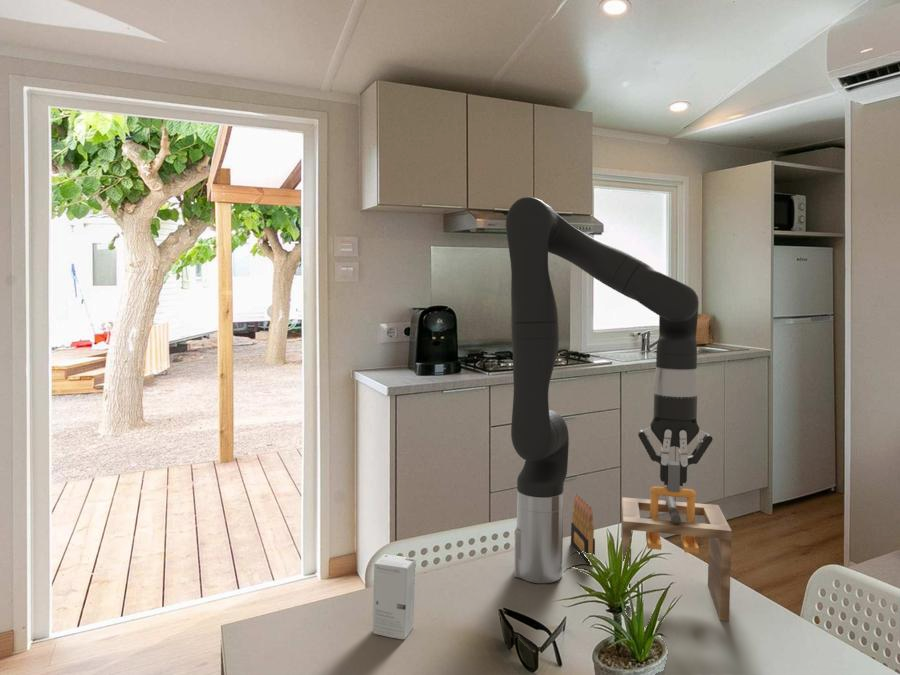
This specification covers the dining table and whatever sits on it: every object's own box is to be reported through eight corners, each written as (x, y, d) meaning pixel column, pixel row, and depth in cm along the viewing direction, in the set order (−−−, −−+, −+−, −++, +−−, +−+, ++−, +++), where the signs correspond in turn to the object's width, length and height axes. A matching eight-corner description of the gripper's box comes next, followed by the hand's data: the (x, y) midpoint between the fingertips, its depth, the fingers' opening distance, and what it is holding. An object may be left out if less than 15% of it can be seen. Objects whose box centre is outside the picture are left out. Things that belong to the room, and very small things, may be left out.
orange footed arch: (647, 548, 113) (649, 465, 112) (645, 536, 119) (647, 457, 118) (698, 553, 111) (701, 469, 110) (694, 540, 117) (696, 460, 116)
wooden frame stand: (621, 607, 111) (623, 512, 110) (620, 574, 125) (622, 489, 124) (729, 621, 107) (732, 521, 106) (716, 585, 120) (718, 496, 119)
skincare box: (371, 634, 102) (371, 563, 101) (382, 621, 106) (382, 552, 106) (406, 641, 100) (406, 568, 100) (416, 627, 105) (416, 557, 104)
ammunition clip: (595, 563, 130) (596, 507, 130) (586, 563, 130) (587, 508, 129) (578, 543, 141) (579, 492, 140) (570, 543, 141) (571, 492, 140)
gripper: (637, 393, 112) (635, 487, 113) (719, 396, 108) (716, 493, 109) (635, 387, 119) (633, 476, 120) (712, 390, 115) (709, 481, 116)
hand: (673, 484), depth 115 cm, fingers closed on orange footed arch
